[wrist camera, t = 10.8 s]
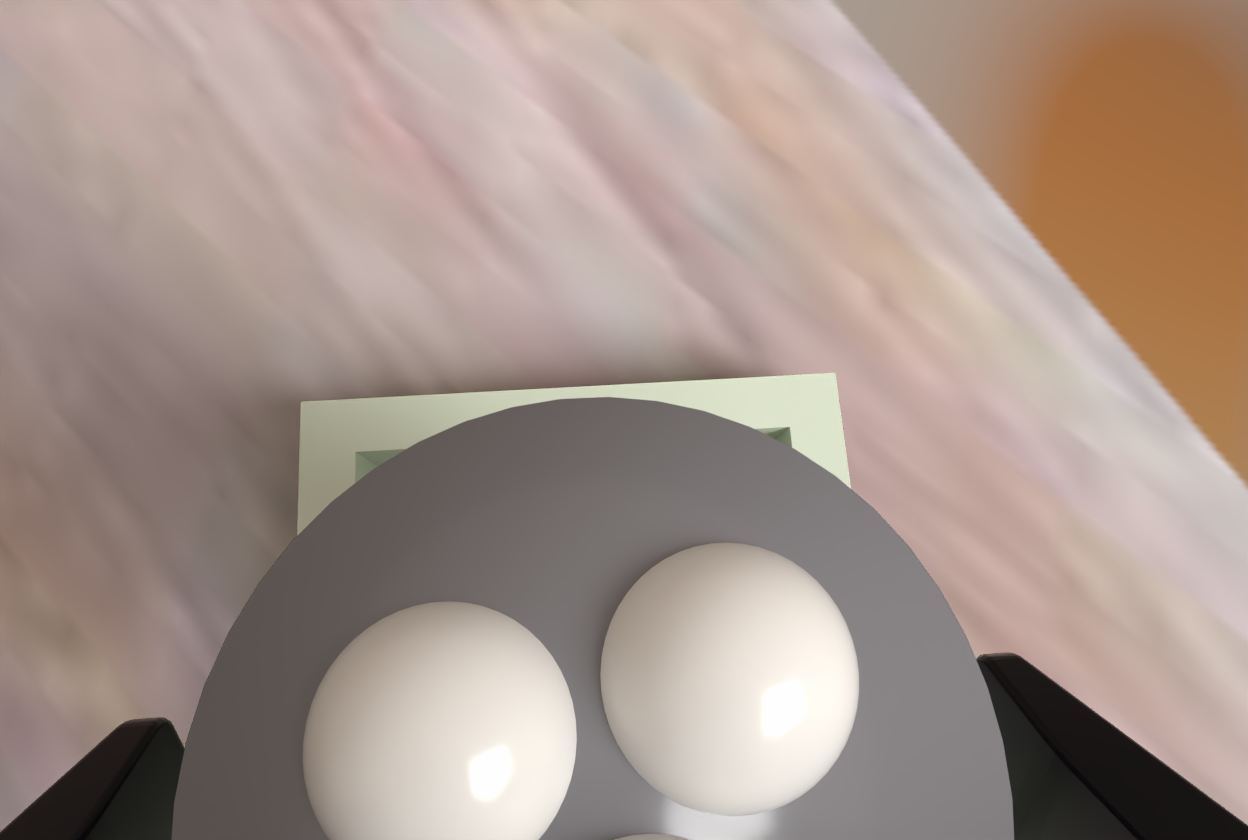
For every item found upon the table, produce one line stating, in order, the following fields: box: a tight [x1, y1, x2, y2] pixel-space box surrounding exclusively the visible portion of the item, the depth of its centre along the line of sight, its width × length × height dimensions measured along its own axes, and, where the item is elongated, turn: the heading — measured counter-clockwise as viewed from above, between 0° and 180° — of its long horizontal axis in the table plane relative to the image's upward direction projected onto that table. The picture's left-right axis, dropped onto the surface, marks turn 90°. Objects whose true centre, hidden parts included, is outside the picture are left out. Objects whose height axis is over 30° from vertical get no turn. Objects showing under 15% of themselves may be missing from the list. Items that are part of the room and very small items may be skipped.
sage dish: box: [297, 373, 851, 536], centre depth 17 cm, size 12×12×2 cm
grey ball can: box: [171, 397, 1014, 840], centre depth 11 cm, size 5×5×14 cm
